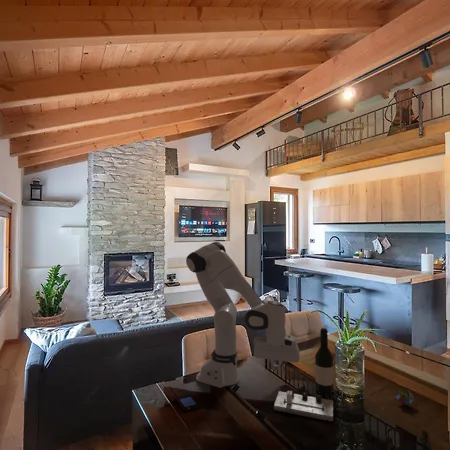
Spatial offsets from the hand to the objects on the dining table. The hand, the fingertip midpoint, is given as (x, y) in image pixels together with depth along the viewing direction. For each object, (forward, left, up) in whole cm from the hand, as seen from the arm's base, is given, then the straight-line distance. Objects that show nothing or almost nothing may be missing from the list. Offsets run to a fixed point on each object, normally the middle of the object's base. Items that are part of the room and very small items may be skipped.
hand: (276, 369), depth 137 cm
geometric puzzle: (+54, +19, -16) cm, 59 cm away
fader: (+6, 0, -13) cm, 14 cm away
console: (+12, +2, -16) cm, 19 cm away
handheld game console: (-39, -14, -16) cm, 44 cm away
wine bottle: (+20, +21, -16) cm, 33 cm away
